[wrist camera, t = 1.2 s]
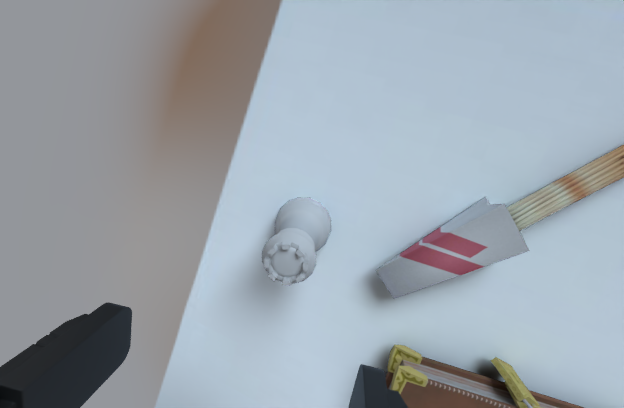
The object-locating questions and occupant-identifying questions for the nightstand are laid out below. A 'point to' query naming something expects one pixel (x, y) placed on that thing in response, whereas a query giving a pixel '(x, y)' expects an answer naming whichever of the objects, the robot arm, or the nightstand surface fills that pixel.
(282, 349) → the nightstand surface
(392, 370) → the book
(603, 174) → the grey trowel
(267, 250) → the rook chess piece
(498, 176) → the nightstand surface
